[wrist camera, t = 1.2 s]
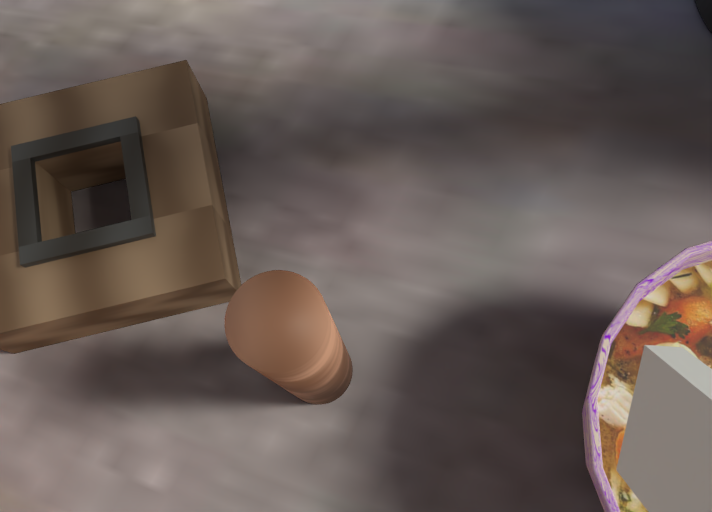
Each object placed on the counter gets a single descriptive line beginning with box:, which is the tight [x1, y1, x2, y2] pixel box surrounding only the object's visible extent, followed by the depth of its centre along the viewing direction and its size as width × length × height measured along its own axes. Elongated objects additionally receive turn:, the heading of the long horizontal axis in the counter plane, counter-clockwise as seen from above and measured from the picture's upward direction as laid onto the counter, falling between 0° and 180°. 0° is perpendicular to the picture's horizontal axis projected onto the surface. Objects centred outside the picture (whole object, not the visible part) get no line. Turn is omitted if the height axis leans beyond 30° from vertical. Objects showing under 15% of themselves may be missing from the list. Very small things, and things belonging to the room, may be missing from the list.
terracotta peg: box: [225, 270, 352, 404], centre depth 35 cm, size 4×4×16 cm
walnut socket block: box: [0, 60, 241, 354], centre depth 44 cm, size 16×16×6 cm
